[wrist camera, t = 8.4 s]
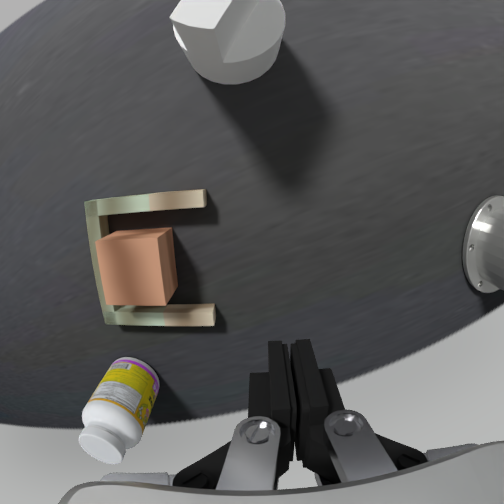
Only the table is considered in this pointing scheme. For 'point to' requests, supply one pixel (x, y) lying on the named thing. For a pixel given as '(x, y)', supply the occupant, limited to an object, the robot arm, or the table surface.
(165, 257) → the terracotta block
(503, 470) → the robot arm
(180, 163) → the table surface
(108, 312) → the walled lane
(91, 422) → the supplement bottle
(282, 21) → the base with upright slab
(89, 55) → the table surface
